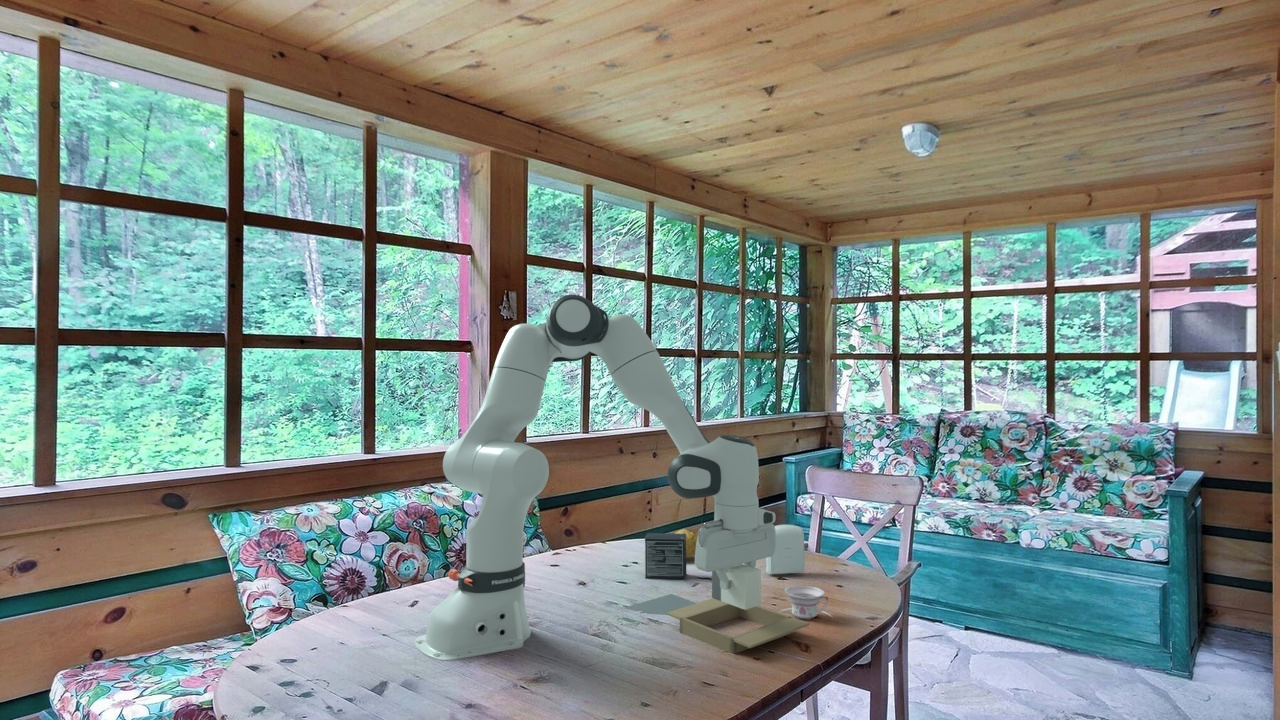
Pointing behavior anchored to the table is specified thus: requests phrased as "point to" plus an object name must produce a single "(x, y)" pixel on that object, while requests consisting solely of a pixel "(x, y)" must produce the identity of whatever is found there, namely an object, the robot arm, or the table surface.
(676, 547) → the small box
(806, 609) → the teacup
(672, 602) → the slate mat
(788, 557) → the photo printer
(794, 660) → the table surface
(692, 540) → the croissant
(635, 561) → the table surface
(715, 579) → the box
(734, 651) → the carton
